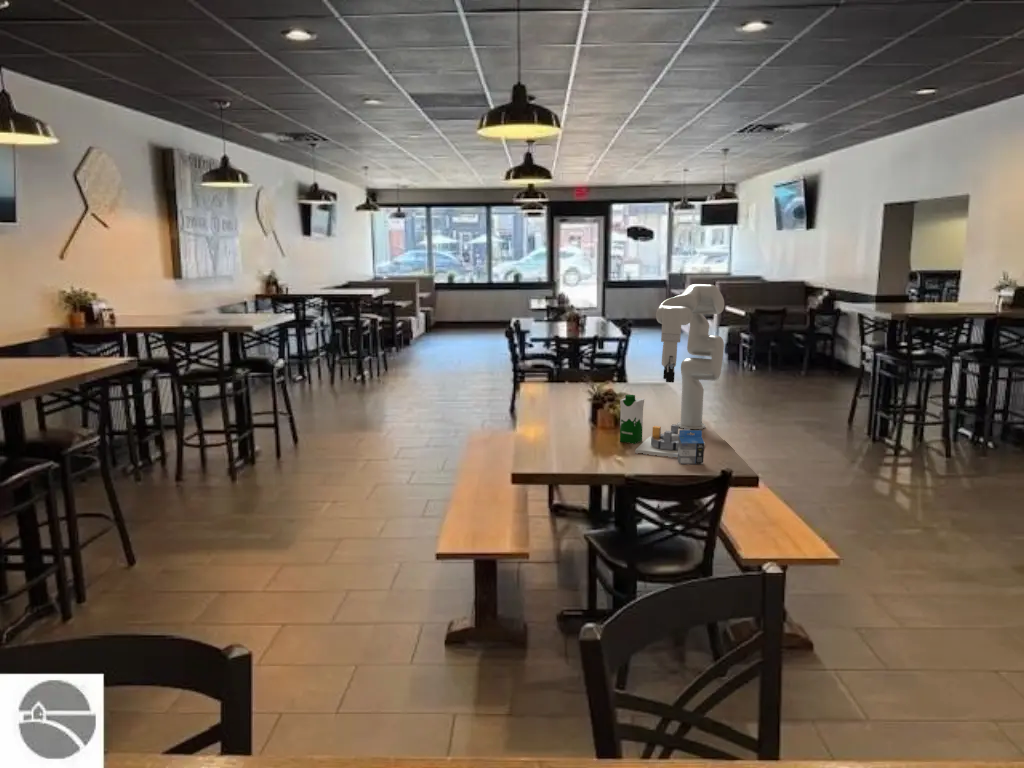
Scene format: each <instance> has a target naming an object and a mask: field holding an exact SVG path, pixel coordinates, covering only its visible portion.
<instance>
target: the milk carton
mask: <svg viewBox="0 0 1024 768" xmlns="http://www.w3.org/2000/svg"><path fill="white" fill-rule="evenodd" d="M619 404H620V421H619V422H620V424H619V442H620V443H625V442H626V444H632V443H633V445H636V444H638V443H641V442H642V441H643V429H644V428H643V427H644V425H643V424H644V422H643V421H644V405H645V398H639V397H638V398H637V397H636V394H626V395H625V396H624V398H622V399H620V400H619Z"/></svg>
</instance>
